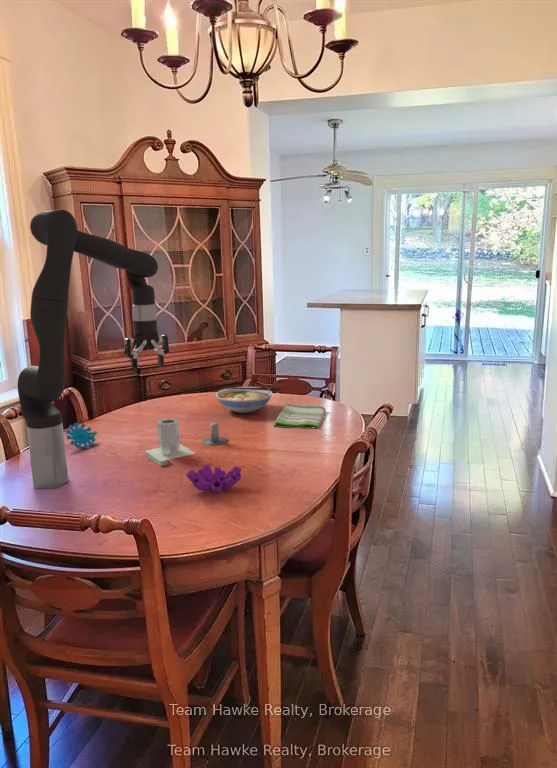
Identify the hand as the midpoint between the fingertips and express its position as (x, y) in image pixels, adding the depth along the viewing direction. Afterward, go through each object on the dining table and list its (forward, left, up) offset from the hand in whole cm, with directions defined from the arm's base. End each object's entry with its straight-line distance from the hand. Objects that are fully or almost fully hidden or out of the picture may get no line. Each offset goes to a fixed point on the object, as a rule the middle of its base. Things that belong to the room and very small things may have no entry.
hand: (148, 368), depth 189 cm
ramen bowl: (+40, -28, -26) cm, 55 cm away
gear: (-1, +23, -26) cm, 35 cm away
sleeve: (-12, -8, -25) cm, 29 cm away
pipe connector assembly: (-39, -25, -26) cm, 53 cm away
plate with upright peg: (-12, -8, -26) cm, 30 cm away
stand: (-2, -21, -26) cm, 34 cm away
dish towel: (+28, -50, -27) cm, 63 cm away
